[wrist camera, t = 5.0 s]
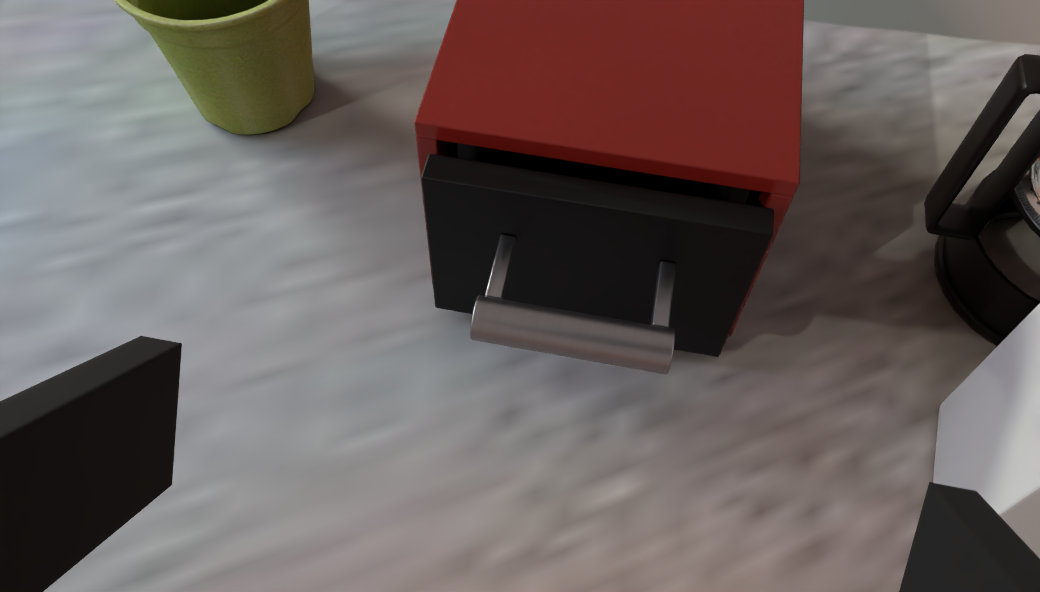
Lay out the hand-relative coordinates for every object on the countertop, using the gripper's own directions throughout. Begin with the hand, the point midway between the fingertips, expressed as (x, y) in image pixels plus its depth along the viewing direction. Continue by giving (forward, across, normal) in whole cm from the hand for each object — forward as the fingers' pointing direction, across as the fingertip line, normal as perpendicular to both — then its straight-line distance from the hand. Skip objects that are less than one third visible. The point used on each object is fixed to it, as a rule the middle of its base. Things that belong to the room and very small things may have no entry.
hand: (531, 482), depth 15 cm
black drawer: (+26, 0, +1) cm, 26 cm away
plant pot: (+31, -19, +4) cm, 37 cm away
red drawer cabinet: (+30, 0, +3) cm, 30 cm away
